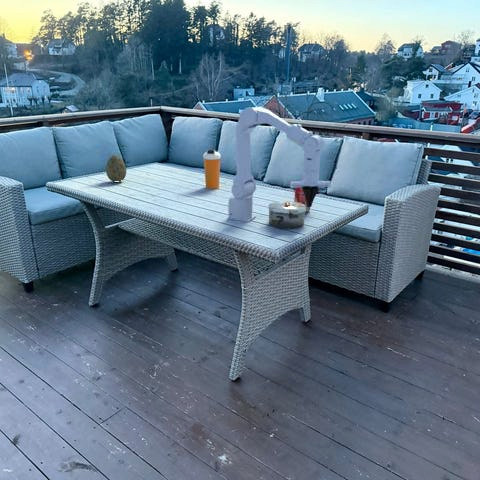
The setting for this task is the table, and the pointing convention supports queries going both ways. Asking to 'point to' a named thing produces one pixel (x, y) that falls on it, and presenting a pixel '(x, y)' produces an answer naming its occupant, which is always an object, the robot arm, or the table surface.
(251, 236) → the table surface
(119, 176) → the decorative egg
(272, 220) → the cooker pot
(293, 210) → the lid
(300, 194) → the soda can
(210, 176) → the shaker bottle
